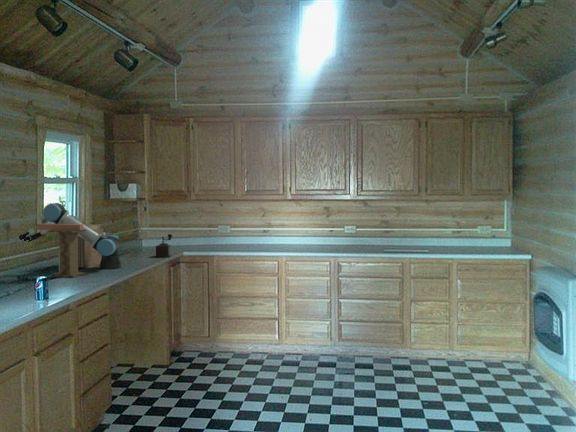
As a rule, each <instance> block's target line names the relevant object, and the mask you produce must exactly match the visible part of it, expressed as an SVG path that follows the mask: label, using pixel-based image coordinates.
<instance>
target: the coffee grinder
mask: <svg viewBox="0 0 576 432" xmlns="http://www.w3.org/2000/svg"><path fill="white" fill-rule="evenodd" d="M167 237H168V238H167V239H165V238H164V236H162V237H161V239H162V242H161V243H159V244H157V245H156V246H155V258H170V257H171V256H172V254H171V251H172V250H171V247H172V246H171V244H168V243H167V242H165V241H172V238H173V234H171V233H168V234H167Z"/></svg>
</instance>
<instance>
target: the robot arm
mask: <svg viewBox="0 0 576 432" xmlns="http://www.w3.org/2000/svg"><path fill="white" fill-rule="evenodd" d="M42 213H43V214H42V217H41V220H42V223H43V224H48V223H52V224H83V230H86V231H83V232H78V236H79V237H81V238H83V239H84V240H86V241H87V242H89V243H90V244H92V248H94V249H95V250H97V251H98V253H99V254H101V255H102V258H101V261H100V264H99V265H98V266H99V267H98V268H99V269H105V270H107V269H108V270H109V269H110V270H111V269H120V268H121V267H122V262H121V259H120V257H119V256H120V254H119V253H120V251H119V245H120V243H119V241H120V240H119V236H118V235H116V234H115V235H113V234H112V235H110V234H109V235H108V234H104V233H103V234H98V233H97V232H95V231H94V230H92V229H90V228H89V227H87V226H86V224H85V223H83V222H81V221H80V220H78V219H77V218H75V217H74V216H72V215H70V212H69V211H68V210H67V209H66V208H65V206H64V205H63V204H61V203H59V202H55V203H54V202H53V203H51V202H50V203H49V204H48V203H47V205H45V206H44V208H43V211H42ZM34 230H35V229H34ZM34 230H33V228H32V229H30V230H29V231H27V232H26V233H24V234H23V235H22V234H20V236H19V239H20V240H22V239H24V241H26V240H29V241H28V243H30V242H31V241H32V240H34V241H36V240H38V239H39V238H41V237H43V236H45V234H46V233H47V232H48V231H50V230H39V232H37V233H35V231H34ZM26 236H27V237H26ZM29 236H30V237H31V238H30V237H29ZM30 239H31V240H30ZM32 242H33V241H32Z"/></svg>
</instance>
